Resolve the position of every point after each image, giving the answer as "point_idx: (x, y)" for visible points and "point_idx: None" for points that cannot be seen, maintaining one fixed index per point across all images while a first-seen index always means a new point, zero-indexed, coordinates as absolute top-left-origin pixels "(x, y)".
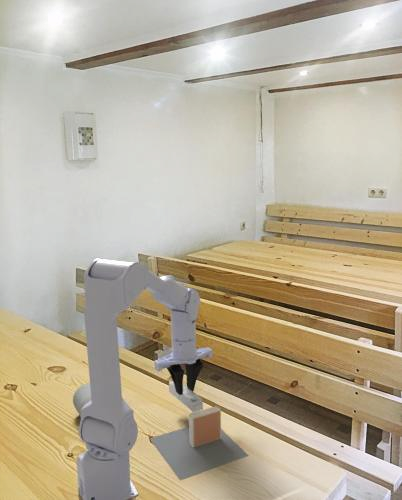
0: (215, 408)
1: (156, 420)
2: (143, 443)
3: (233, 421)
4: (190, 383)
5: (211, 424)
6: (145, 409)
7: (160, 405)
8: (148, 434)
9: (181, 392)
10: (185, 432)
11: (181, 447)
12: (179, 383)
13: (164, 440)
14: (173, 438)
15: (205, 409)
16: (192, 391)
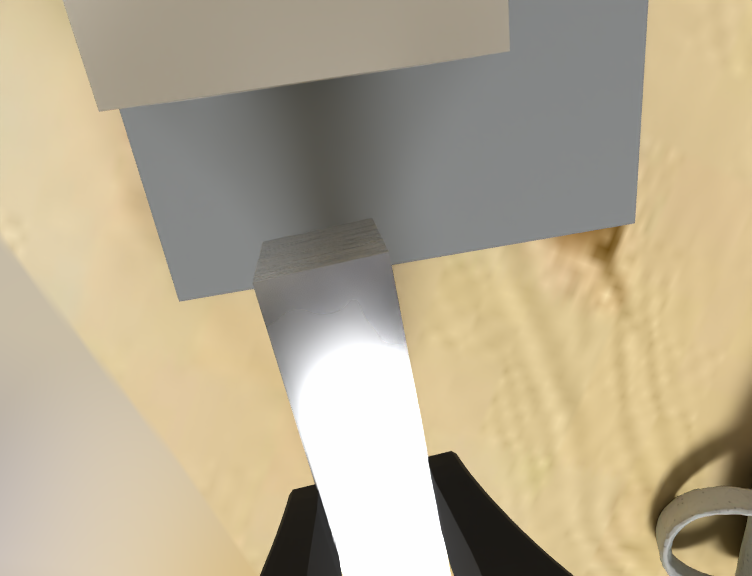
0: (130, 50)
1: (512, 401)
2: (671, 199)
3: (12, 243)
4: (323, 574)
5: None
6: (525, 512)
7: None
8: (608, 280)
9: (447, 467)
10: (404, 207)
11: None
12: (528, 548)
13: (564, 165)
14: (502, 168)
15: (274, 77)
16: (314, 473)
